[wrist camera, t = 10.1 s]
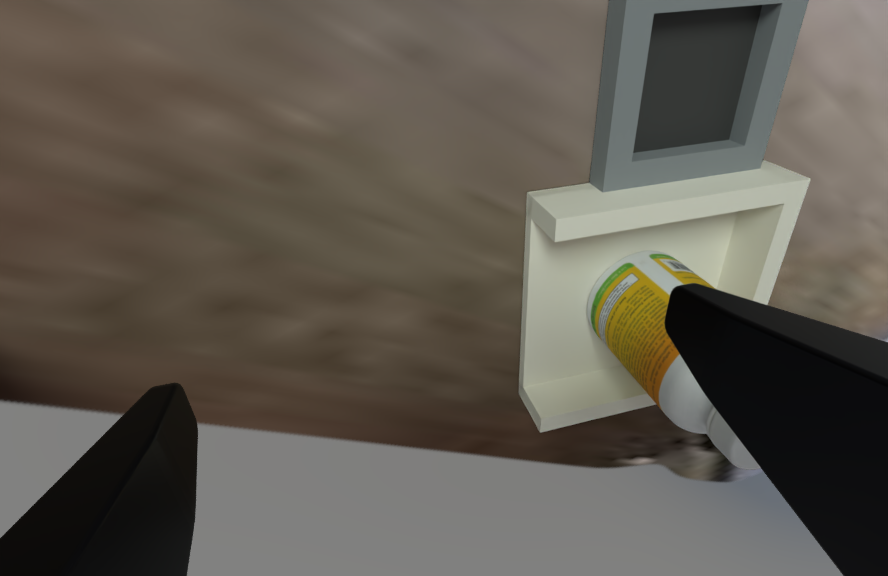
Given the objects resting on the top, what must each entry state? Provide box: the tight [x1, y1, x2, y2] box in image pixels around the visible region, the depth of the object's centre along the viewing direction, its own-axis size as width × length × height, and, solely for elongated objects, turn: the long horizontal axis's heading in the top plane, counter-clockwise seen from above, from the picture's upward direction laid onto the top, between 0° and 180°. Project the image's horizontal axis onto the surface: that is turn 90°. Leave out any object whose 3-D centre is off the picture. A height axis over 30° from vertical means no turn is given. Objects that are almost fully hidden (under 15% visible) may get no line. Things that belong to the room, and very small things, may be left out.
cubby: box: [519, 160, 810, 433], centre depth 26 cm, size 12×12×3 cm
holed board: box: [589, 0, 809, 192], centre depth 22 cm, size 8×8×1 cm
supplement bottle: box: [587, 250, 761, 470], centre depth 23 cm, size 5×5×10 cm
